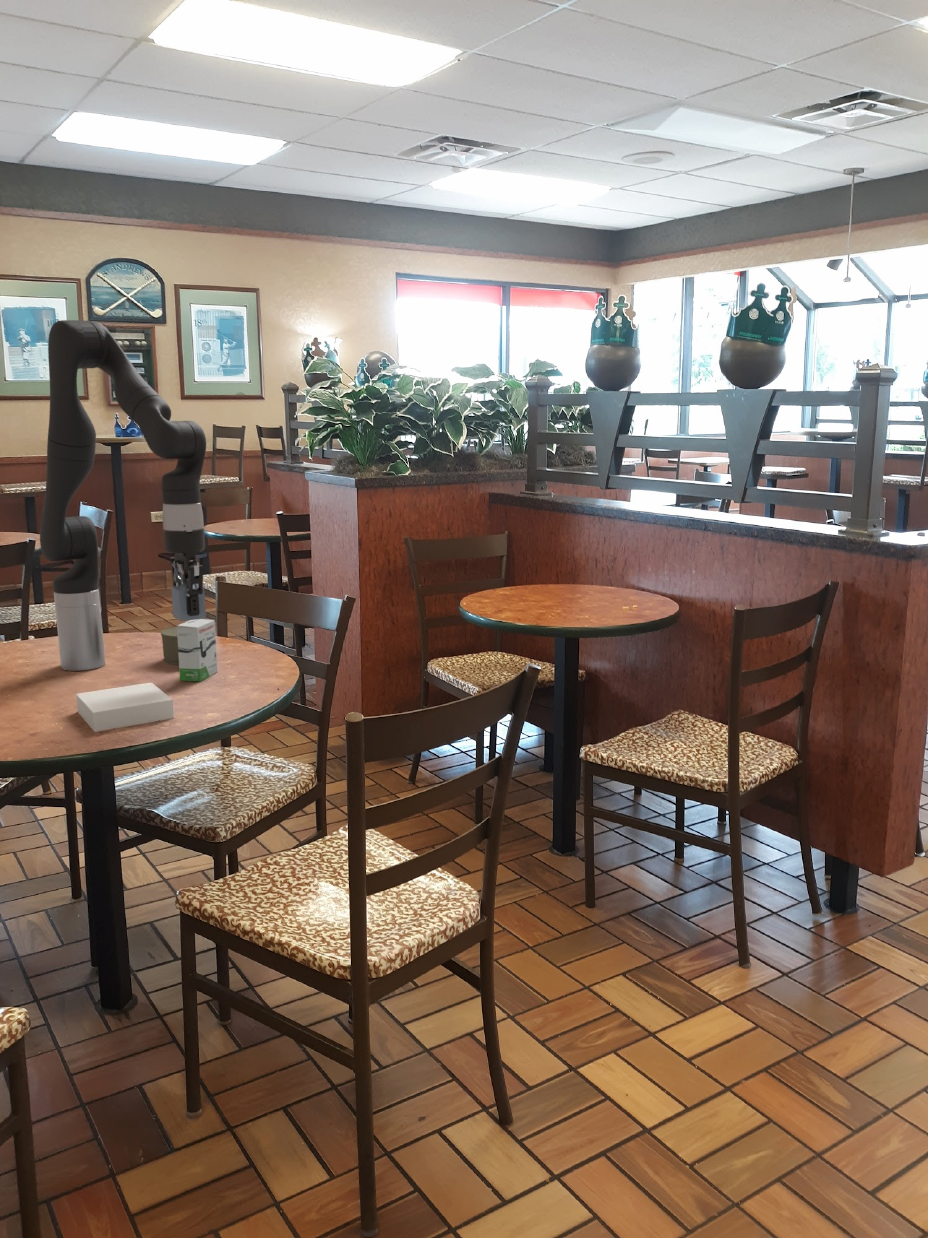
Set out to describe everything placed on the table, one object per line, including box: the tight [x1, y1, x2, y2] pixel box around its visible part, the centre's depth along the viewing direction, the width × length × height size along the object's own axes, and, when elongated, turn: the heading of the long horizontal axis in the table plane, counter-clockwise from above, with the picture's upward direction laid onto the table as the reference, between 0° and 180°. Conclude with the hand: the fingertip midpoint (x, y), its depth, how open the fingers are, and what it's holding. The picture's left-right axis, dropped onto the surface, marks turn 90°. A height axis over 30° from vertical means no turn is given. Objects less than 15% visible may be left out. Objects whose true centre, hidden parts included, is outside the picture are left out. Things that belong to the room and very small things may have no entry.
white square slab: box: [75, 682, 175, 733], centre depth 180 cm, size 14×14×4 cm
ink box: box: [177, 618, 218, 682], centre depth 205 cm, size 9×5×12 cm, turn 168°
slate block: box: [170, 585, 207, 622], centre depth 189 cm, size 5×5×6 cm
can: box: [160, 625, 217, 667], centre depth 220 cm, size 12×12×7 cm
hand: (189, 612), depth 189 cm, fingers closed on slate block, 5 cm apart
